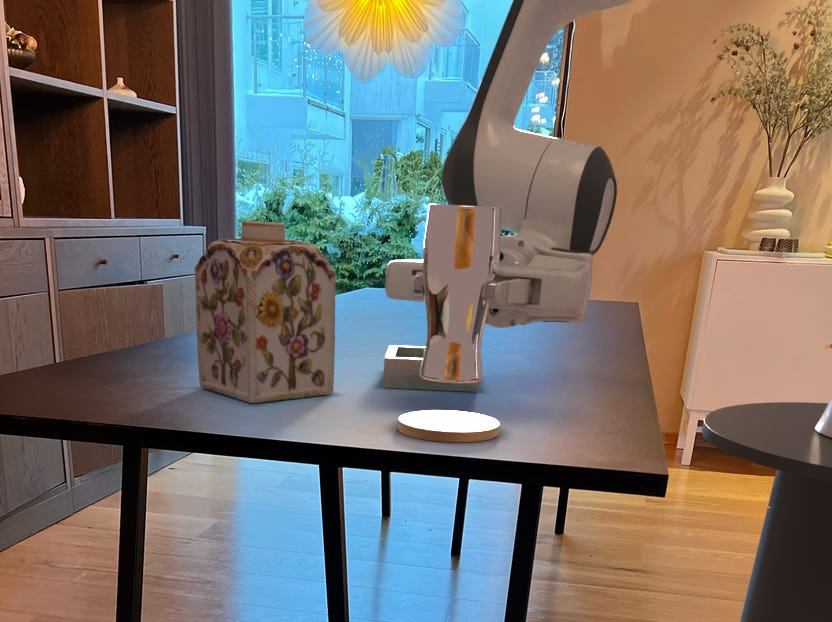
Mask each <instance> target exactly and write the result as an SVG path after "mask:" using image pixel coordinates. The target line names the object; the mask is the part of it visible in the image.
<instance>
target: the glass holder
mask: <svg viewBox="0 0 832 622" xmlns="http://www.w3.org/2000/svg"><path fill="white" fill-rule="evenodd" d="M424 351H425V346H418V345H417V346H416V345H397V344H395V345H394V344H391V345H390V344H389V345H388V348H387V350H386V353H385V355H384V358H383V377H382V378H383V379H382V380H383V381H382V387H383V388H384V389H404V390H424V391H425V390H427V391H444V392H445V391H446V392H447V391H448V392H466V393H467V392H468V393H477V392H478V389H479V388H478V387H479V382H475V383H442V382H435V381H430V380H426V379H423V378H421V377H420V368H421V364H422V360H423V356H424Z"/></svg>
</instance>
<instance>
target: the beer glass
mask: <svg viewBox="0 0 832 622" xmlns="http://www.w3.org/2000/svg"><path fill="white" fill-rule="evenodd" d="M501 216H502V207H492V206H470V205H448V204H443V203H429V204H428V211H427V219H426V224H425V233H424V239H423V250H422V259H423V269H422V270H423V290H424V302H423V303H424V311H425V322H426V323H425V324H426V325H425V326H426V339H425V346H424V347H425V351H424V356H423V360H422V364H421V368H420V377H421V378H423V379H426V380H430V381H435V382H442V383H475V382H478V383H480V382H481V381H482V380H483V379H484V371H483V357H482V355H483V354H482V348H483V347H482V346H483V345H482V344H483V337H484V330H485V326H486V324H485V322H486V318H487V315H488V311H489V307H490V303H487V302H485V296H486V292H487V287H488V285H489V283H490V282H494V281H496V278H497V274H498V266H499V259H500V246H501V236H502V229H501Z"/></svg>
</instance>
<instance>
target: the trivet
mask: <svg viewBox="0 0 832 622" xmlns="http://www.w3.org/2000/svg"><path fill="white" fill-rule="evenodd" d="M500 426H501V425H500V421H499V420H497V419H496V418H494V417H491V416H488V415H485V414H480V413H476V412H468V411H461V410H449V409H448V410H446V409H445V410H444V409H428V410H426V409H425V410H417V411H411V412H410V411H409V412H405V413H403V414H401V415H399V417H398V418H397V430H398V432H400V433H401V434H403V435H405V436H408V437H411V438H414V439H419V440H424V441H430V442H439V443H476V442H477V443H478V442H484V441H488V440H492V439H494V438H497V437H498V436H499V434H500Z"/></svg>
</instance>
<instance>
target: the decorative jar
mask: <svg viewBox="0 0 832 622" xmlns="http://www.w3.org/2000/svg"><path fill="white" fill-rule="evenodd" d="M197 261H198V262H197V263H196V265H195V267H194V291H195V293H194V294H195V320H196V321H195V322H196V324H195V325H196V348H197V363H198V365H197V367H198V380H199V386H200V387H201V388H202V389H206V390H209V391H211V392H214V393H218V394H221V395H224V396H227V397H229V398H233V399H236V400H239V401H242V402H246V403H249V404H253V405H254V404H262V403H268V402H277V401H284V400H294V399H303V398H310V397H319V396H328V395H332V394H333V393H334V384H335V383H334V382H335V379H334V378H335V351H336V280H337V279H336V278H337V276H336V271H335V270H334V269H333V267H332V266H331V264H330V263H329V261H328V260H327V259H326V258H325V256H324V254H323V253H322V252H321V250H320V249H319V248H318V246H317V245H316V244H313V243H309V242H304V241H300V240H295V239H294V240H291V239H289V240H288V239H286V224H285V223H284V222H275V221H257V220H243V221H242V222H241V238H225V239H218V240H215V241H212V242H211V243H210V244H209V245H208V247H207V248H206V249H205V250H204V252H203V254H202V255H201V256H200V257H199V259H198V260H197Z"/></svg>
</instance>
